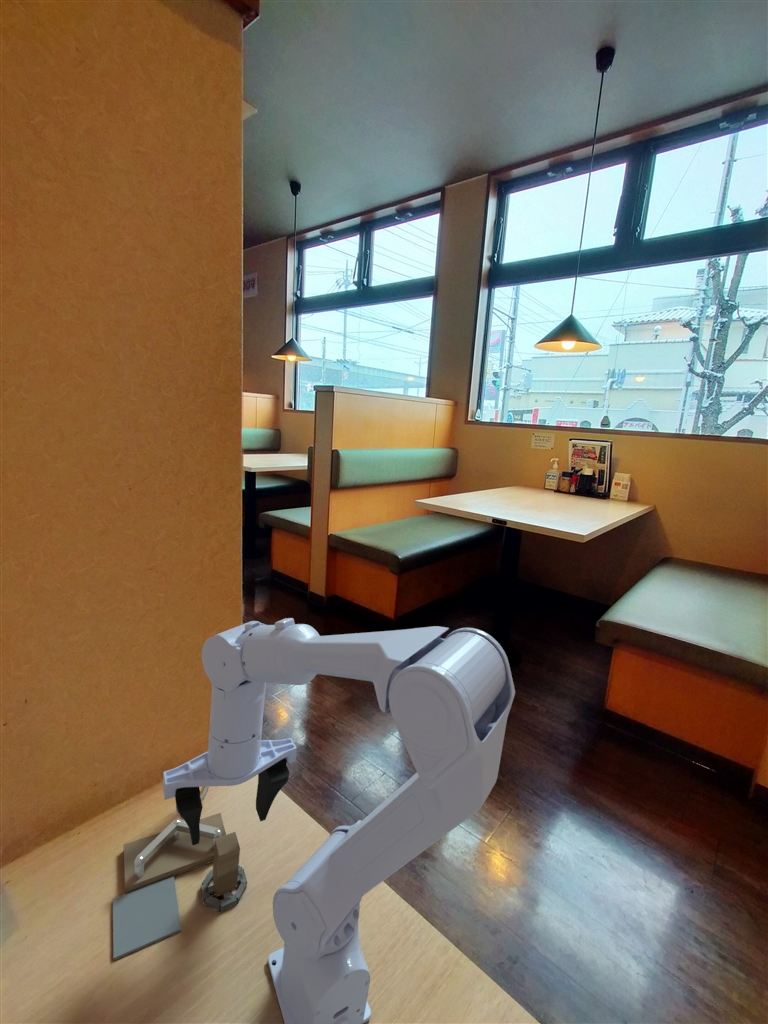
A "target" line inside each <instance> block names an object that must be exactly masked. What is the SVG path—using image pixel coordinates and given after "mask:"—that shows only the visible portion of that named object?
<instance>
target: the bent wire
mask: <svg viewBox="0 0 768 1024" xmlns="http://www.w3.org/2000/svg"><path fill="white" fill-rule="evenodd" d="M199 828H200V836H202V837H206V838H210V839H213V846H212V848H213V850H214V847H215V839H216V838H219V837H221V835H222V831H221V830H220V828H217V827H212V826H208V825H204V824H199ZM180 831H181V832H185V833H189V834H190V830H189V827H188V825H187V823H186V822H185V820H184V819H183V818H175V819H174V820H172V822H170V823H169V824H168V825H167V826H166V827H165V828H164V829H163V830H162V831H160V832H161V833H160V832H159V833H160V834H159V835H158V836H157V837H156V838H155V839H154V840H153V841H152V842H151V843H150V844H149V845H148V846H147V847H146V848H145V849H144V850H143V851H142V852H141V853H140V854H139V855H138V856H137V857H136V859H135V861H134V864H135V875H134V877H135V878H136V879H139V878H141V877H142V876H143V875H144V864H145V863H146V862H147V860H148V859H149V858H150V857H151V856H152V855H153V854H154V853H155V852H156V851H157V850H158V849H159V848H160V847H161V846H162V845H163V844H164V843H165V842H166V841H167V840H168V839H169V838H170V837H171V836H172V840H178V839H179V838H180Z"/></svg>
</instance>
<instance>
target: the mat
mask: <svg viewBox="0 0 768 1024" xmlns="http://www.w3.org/2000/svg"><path fill="white" fill-rule="evenodd" d="M180 918H181V917H180V911H179V904H178V897H177V889H176V881H175V876H173V877H170V878H167V879H165V880H162V881H159V882H157V883H154V884H151V885H149V886H146V887H143V888H141V889H138V890H136V891H133V892H130V893H128V894H125V893H124V894H122V895H120V896H118V897H115V898H112V930H113V931H112V939H113V940H112V946H113V948H112V949H113V950H112V951H113V958H112V959H113V961H115V960H117V959H120V958H123V957H125V956H126V955H128V954H131V953H134V952H137V951H138V950H141V949H143V948H145V947H147V946H150V945H152V944H154V943H157V942H158V941H161V940H163V939H165V938H168V937H170V936H172V935H175V934H177V933H179V932H181V931H182V927H181V919H180Z"/></svg>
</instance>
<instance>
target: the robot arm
mask: <svg viewBox="0 0 768 1024" xmlns="http://www.w3.org/2000/svg"><path fill="white" fill-rule="evenodd" d="M449 630H450V628H449V627H445V626H439V625H437V626H436V625H435V626H434V625H433V626H426V627H425V626H424V627H414V628H406V629H395V630H384V631H382V630H381V631H371V632H370V631H369V632H359V633H358V632H355V633H344V634H331V635H320V634H319V632H318V631H317V630H316V629H315V628H314V627H313V626H311V625H309V624H305V623H297V624H296V622H295V619H294V618H293V617H288V618H287V617H285V618H283V619H281V620H278V621H276V622H274V624H265V623H262V622H260V621H257V620H250V621H248V622H246V623H243V624H240V625H238V626H235V627H232V628H230V629H227V630H224V631H222V632H219V633H216V634H213V636H211V637H208V638H207V639H206V640H205V641H204V643H203V645H202V649H201V662H202V666H203V670H204V672H205V676H207V678H208V680H209V681H210V683H211V698H210V700H211V701H210V713H209V714H210V715H209V729H208V730H209V731H208V732H209V733H208V745H207V747H208V748H207V751H205V752H203V753H202V754H200V755H198V756H196V757H194V758H192V759H190V760H188V761H187V762H184V763H183V764H181V765H178V766H177V767H174V768H172V769H168V770H165V771H163V772H162V773H163V774H162V790H163V791H162V792H163V798H164V801H166V800H169V799H173V798H175V807H176V806H177V810H178V812H179V813H178V812H177V813H178V814H179V816H180V818H181V819H183V820H185V822H186V823H187V825H188V827H189V830H190V836H191V841H192V845H196V844H199V840H200V828H199V824H200V819H201V817H202V811H203V809H204V807H203V801H202V802H201V797H200V791H201V789H200V788H202V787H208V786H210V787H230V786H231V787H232V786H238V785H241V784H244V783H246V782H248V781H249V780H251V779H253V778H254V777H256V776H257V775H258V776H257V778H258V779H257V781H258V782H257V787H256V794H255V795H256V796H255V798H256V799H255V810H256V812H257V816H258V818H259V821H260V822H263V821H266V820H267V817H268V815H269V812H270V809H271V806H272V805H273V803H274V801H275V799H276V797H277V795H278V794H279V792H280V790H282V788H283V787H284V786H285V785H286V784H287V783H288V782H289V777H290V770H289V768H288V766H287V764H291V763H294V762H296V758H297V757H296V756H297V749H298V748H297V746H296V744H295V742H294V740H293V738H292V737H288V738H284V739H263V740H262V735H263V724H264V723H263V722H264V720H263V719H264V711H265V709H264V708H265V700H266V699H265V698H266V690H267V689H266V688H267V685H268V684H276V685H277V684H278V685H288V686H289V685H291V686H303V685H306V684H309V683H310V682H311V681H312V680H314V678H315V677H317V675H322V676H330V677H337V678H344V679H345V678H346V679H352V680H353V679H354V680H359V681H366V682H371V683H372V684H373V685H374V686H373V687H374V690H375V694H376V699H377V703H378V706H379V709H380V711H382V712H383V713H384V714H385V713H387V712H388V711H390V713H391V716H392V719H393V722H394V724H395V727H396V729H397V732H398V734H399V735H400V737H401V740H402V742H403V744H404V747H405V749H406V751H407V753H408V755H409V758H410V760H411V762H412V764H413V767H414V769H415V771H416V772H415V773H414V774H413V775H412V776H411V777H409V779H407V780H406V781H405V782H404V783H403V784H402V785H401V786H399V787H398V788H397V789H396V790H395V791H394V792H393V793H391V794H390V796H388V797H387V798H386V799H385V800H384V801H382V802H381V804H379V805H378V806H377V807H375V808H374V810H372V811H371V812H370V813H369V814H367V816H366V817H365V818H363V819H362V820H360V819H358V820H357V822H355V823H354V824H351V825H339V826H337V827H335V828H334V829H333V830H332V831H331V833H330V835H329V837H328V838H327V839H326V840H325V841H324V842H323V843H322V844H321V845H320V846H319V847H318V849H316V851H315V852H314V853H313V854H312V855H311V856H310V857H309V858H308V859H307V860H306V861H305V862H304V863H303V865H302V866H301V867H299V869H298V870H297V871H296V872H295V873H294V874H293V876H292V877H290V879H288V881H287V882H286V883H284V884H283V885H281V886H279V888H278V889H277V890H276V891H275V893H274V895H273V899H272V910H273V911H272V912H273V913H272V916H273V921H274V925H275V927H276V929H277V932H278V934H279V936H280V938H281V939H282V940H283V942H284V945H283V947H281V948H279V949H277V950H275V951H273V952H271V953H269V955H268V957H267V964H268V967H269V971H270V974H271V979H272V982H273V986H274V989H275V993H276V997H277V1001H278V1004H279V1007H280V1011H281V1014H282V1018H283V1022H284V1024H365V1023H367V1022H368V1021H369V1020H370V1019H371V1017H372V1009H371V1007H370V1004H369V1002H368V995H369V988H370V983H371V973H370V969H369V967H368V964H367V963H366V960H365V957H364V953H363V951H362V947H361V943H360V936H359V918H360V917H359V916H360V908H361V905H360V903H361V901H362V899H363V897H364V896H365V895H366V894H367V893H369V892H371V891H372V890H373V889H374V888H376V887H377V886H378V885H380V884H381V883H382V882H384V881H385V880H387V878H390V877H391V876H392V875H393V874H395V873H396V872H398V870H400V869H401V868H403V867H404V866H406V865H407V864H408V863H409V862H411V861H412V860H413V859H415V858H417V857H418V856H419V855H420V854H422V853H423V852H424V851H426V850H427V849H429V848H430V847H432V845H434V844H435V843H436V842H438V841H440V840H441V839H442V838H444V837H445V836H446V835H447V834H449V833H450V832H451V831H453V830H454V829H455V828H457V827H458V826H459V825H461V824H463V822H465V821H467V819H469V818H471V816H473V815H474V814H476V813H477V812H478V811H480V809H481V808H482V807H483V805H484V803H485V802H486V800H487V799H488V797H489V795H490V793H491V791H492V789H493V788H494V786H495V785H496V783H497V779H498V776H499V770H500V764H501V759H502V758H501V757H502V752H503V746H504V740H505V734H506V728H507V721H508V717H509V714H510V711H511V709H512V704H513V701H514V699H515V695H516V690H515V684H514V681H513V680H514V679H513V677H512V675H513V674H512V671H511V667H510V663H509V659H508V656H507V654H506V652H505V650H504V649H503V646H501V643H499V642H498V641H497V640H496V638H494V637H493V636H492V635H490V634H489V633H488V632H485V631H483V630H481V629H478V628H474V627H461V628H457V629H455V630H453V631H451V632H450V633H449V634H447V636H446V637H445V638H443V637H442V635H443V634H444V633H445V632H447V631H449ZM177 810H176V811H177ZM274 964H275V965H274Z"/></svg>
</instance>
